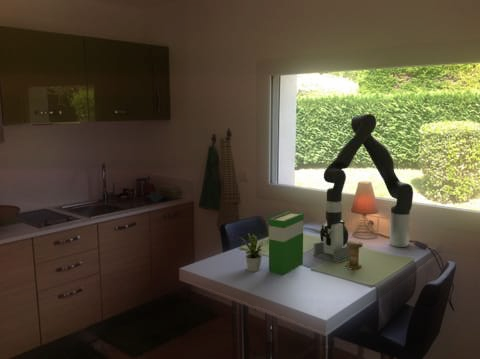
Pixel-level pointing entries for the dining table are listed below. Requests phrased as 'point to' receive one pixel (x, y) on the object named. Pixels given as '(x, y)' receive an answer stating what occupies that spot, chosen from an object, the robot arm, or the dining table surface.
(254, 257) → the house plant
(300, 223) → the hardback book
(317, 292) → the dining table surface
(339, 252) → the notch cradle
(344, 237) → the squash
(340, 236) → the skincare box
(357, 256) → the bobbin
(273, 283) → the dining table surface
